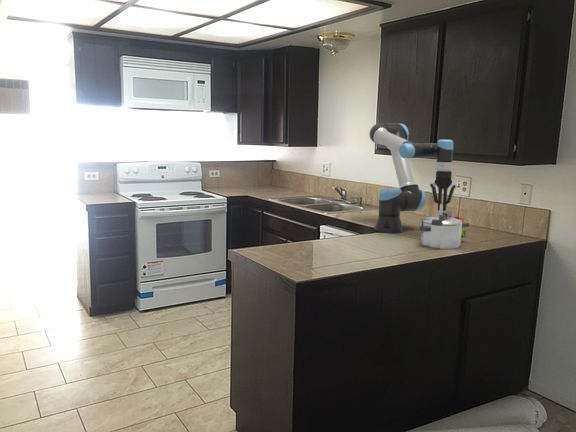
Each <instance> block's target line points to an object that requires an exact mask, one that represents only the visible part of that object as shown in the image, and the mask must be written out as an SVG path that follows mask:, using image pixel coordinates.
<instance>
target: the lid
mask: <svg viewBox="0 0 576 432" xmlns="http://www.w3.org/2000/svg"><path fill="white" fill-rule="evenodd" d="M422 222H424V223H428V224H432V225H436V226H442V225H460V224H462V220H459V219H455V217H453V210H445V211H444V213H443V214H442V215H439V216H427V217H422V219H421V223H422Z"/></svg>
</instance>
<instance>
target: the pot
mask: <svg viewBox="0 0 576 432" xmlns="http://www.w3.org/2000/svg"><path fill="white" fill-rule="evenodd" d="M469 227H470V223H469V222H464V223H462V224H460V225H442V226H436V225H432V224H428V223H424V222H422V221H421V225H420V226H419V227H418V231H420V232H421V235H420V244H421V245H422V246H425V247H427V248H432V249H439V248H440V249H441V250H443V249H445V250H446V249H449V250H451V249H452V250H453V249H459V248H460V247H461V244H462V236H461V232H462V230H463V228H469Z"/></svg>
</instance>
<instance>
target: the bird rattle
mask: <svg viewBox="0 0 576 432" xmlns="http://www.w3.org/2000/svg"><path fill="white" fill-rule="evenodd" d="M454 218H455V219H459V220H462V223H465V218H461V217H460V216H455V217H454ZM467 233H468V230H467V229H462V232H461V237H462V236H463V235H464V236H466V235H467Z"/></svg>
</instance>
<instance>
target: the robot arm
mask: <svg viewBox="0 0 576 432" xmlns="http://www.w3.org/2000/svg"><path fill="white" fill-rule="evenodd" d="M368 135H369V138H370V140H371V141H372V142H373V143H375V144H377V145H381V146H382V145H383V146H385V147H386V148H387V149H388V150H390V155H391V157H392V161H393V162H392V163H393V166H394V170H395V173H396V178H397V182H398V186H399V187H389V188H384V189H382V190H380V192H379V194H378V195H379V196H378V217H377V219H376V223H375V225H374V231H376V232H378V233H383V234H384V233H385V234H386V233H387V234H399V233H402V232H403V229H404V228H403V225H402V224H403V223H402V220H401V212H417V211H420V210H422V209H423V207H424V206H425V204H426V199H427V198H426V193H425V191H424V190H422V189H420V187H419V185H418V184H417V183H416V182H415V180H414V179H415V178H414V175H413V171H412V168H411V163H410V160H409V159H436V166H435V167H436V172H435V180H434V182H432V183H430V184H429V186H430V188H431V192H432V196H433V201H434V203H436V204H437V211H439V215H442V214H443V213H444V212H446V211H447V205H448V204H450V203H451V201H452V199H453V194H454V192H455V189H456V188H457V185H456V184H454V183H453V181H452V173H453V171H452V170H453V159H454V158H453V157H454V141H453V140H452V139H438V140H437V143H436V142H435V143H433V142H430V143H429V142H428V143H427V142H422V143H419V142H418V143H417V142H411V141H410V140H409V138H410V137H409V136H410V132H409V128H408V127H407V126H406V125H405V124H403V123H398V122H390V123H389V122H388V123H387V122H379V123H378V122H377V123H376V124H374V125H373V126H372V127H371V128H370V129H369V133H368ZM436 187H437V188H436ZM449 188H450V190H449V194H448V189H449ZM437 189H438V193H437Z"/></svg>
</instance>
